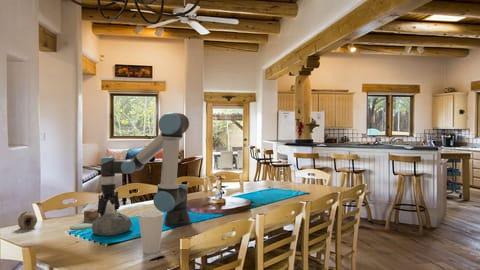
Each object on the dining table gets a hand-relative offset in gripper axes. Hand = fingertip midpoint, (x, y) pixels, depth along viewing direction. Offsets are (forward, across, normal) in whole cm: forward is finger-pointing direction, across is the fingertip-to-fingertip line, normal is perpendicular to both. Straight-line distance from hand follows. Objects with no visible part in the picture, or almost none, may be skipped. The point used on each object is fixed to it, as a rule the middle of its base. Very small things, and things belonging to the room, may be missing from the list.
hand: (109, 222), depth 203 cm
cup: (+3, +28, +48) cm, 56 cm away
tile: (+1, -6, -18) cm, 19 cm away
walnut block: (+1, -6, -18) cm, 19 cm away
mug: (+1, 0, 0) cm, 1 cm away
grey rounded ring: (+1, +20, -39) cm, 44 cm away
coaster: (+1, +8, -12) cm, 15 cm away
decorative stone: (+2, +10, +11) cm, 15 cm away
